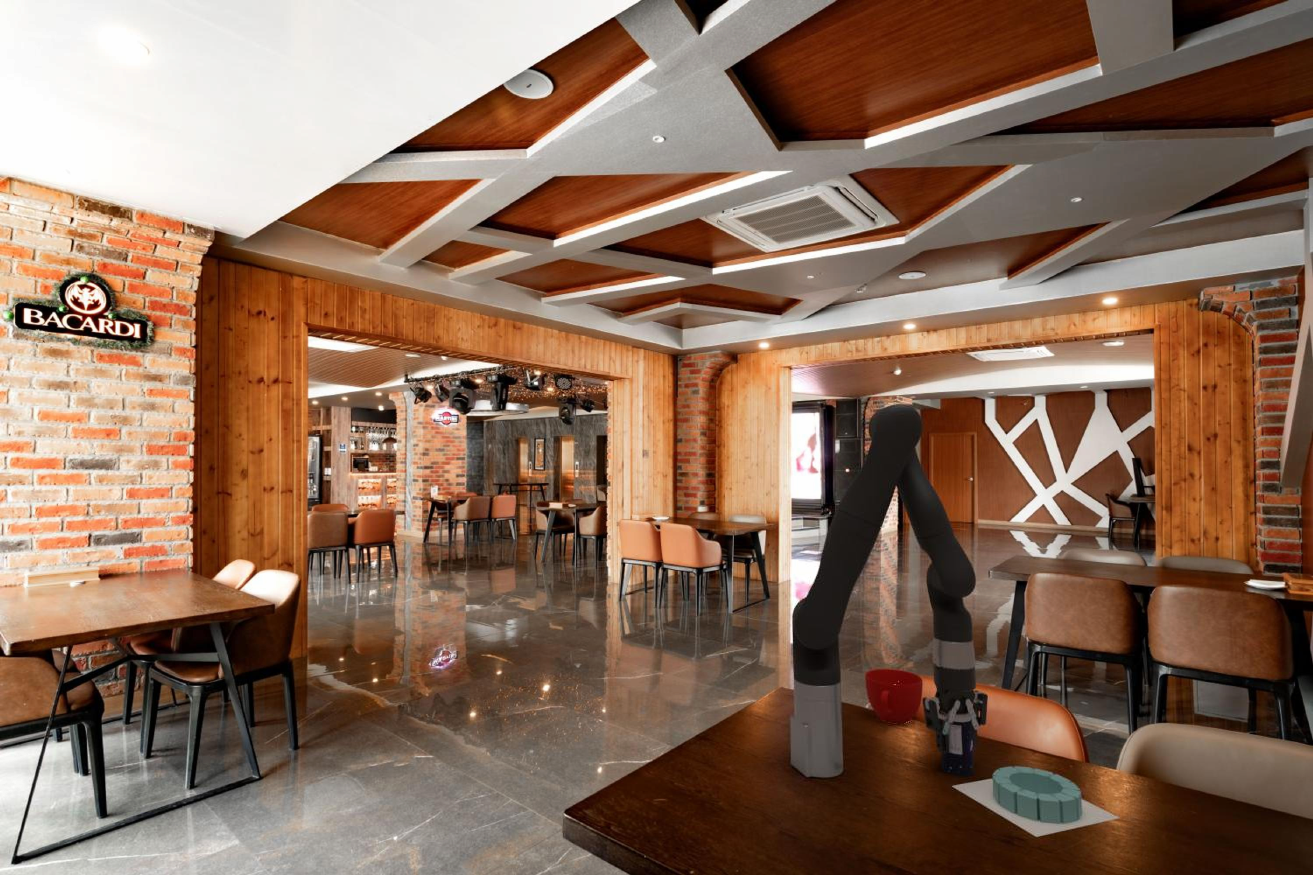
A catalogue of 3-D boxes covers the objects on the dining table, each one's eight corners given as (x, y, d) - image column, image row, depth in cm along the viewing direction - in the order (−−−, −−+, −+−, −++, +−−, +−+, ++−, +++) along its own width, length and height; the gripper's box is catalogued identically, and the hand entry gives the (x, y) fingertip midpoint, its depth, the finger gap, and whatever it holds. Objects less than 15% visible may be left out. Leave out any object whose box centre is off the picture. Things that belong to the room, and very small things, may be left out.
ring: (1040, 828, 104) (1039, 806, 104) (977, 792, 117) (976, 772, 117) (1099, 815, 108) (1098, 794, 108) (1033, 781, 121) (1032, 762, 121)
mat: (1036, 841, 102) (1036, 836, 102) (951, 790, 119) (951, 785, 119) (1120, 822, 107) (1119, 817, 108) (1027, 776, 125) (1027, 771, 125)
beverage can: (977, 782, 122) (975, 716, 123) (945, 779, 123) (943, 714, 124) (969, 768, 128) (967, 706, 129) (939, 766, 129) (936, 704, 130)
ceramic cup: (855, 728, 149) (854, 683, 150) (873, 706, 164) (872, 665, 164) (915, 739, 142) (913, 693, 143) (928, 715, 157) (926, 673, 158)
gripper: (968, 653, 133) (972, 738, 132) (910, 660, 128) (913, 747, 127) (998, 663, 126) (1002, 752, 125) (937, 670, 121) (941, 763, 120)
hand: (957, 749), depth 126 cm, fingers open, 6 cm apart
